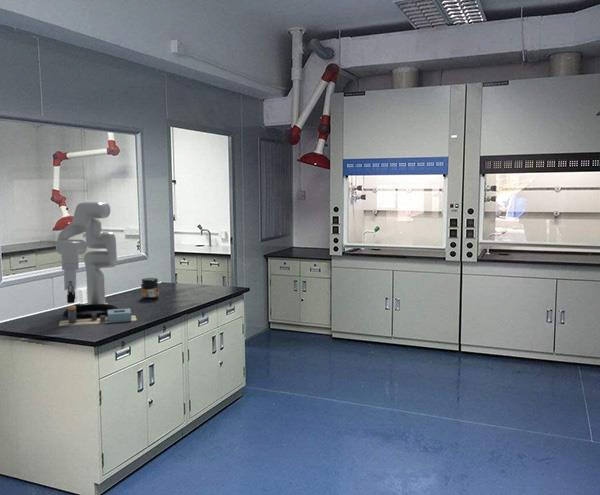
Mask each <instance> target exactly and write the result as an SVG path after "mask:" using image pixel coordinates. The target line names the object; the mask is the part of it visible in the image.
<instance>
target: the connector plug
mask: <svg viewBox="0 0 600 495" xmlns="http://www.w3.org/2000/svg"><path fill="white" fill-rule="evenodd" d="M67 309H68V317H67V318H68V320H69V323H76V322H77V320H78V319H77V318H76V314H77V313H76V306H73V305H69V306H67Z"/></svg>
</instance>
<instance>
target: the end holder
mask: <svg viewBox="0 0 600 495" xmlns="http://www.w3.org/2000/svg"><path fill="white" fill-rule="evenodd" d="M131 316H132V310H131V308H118V309H114V310H108V316H107V317H108V322H112V323H121V321H125V322H133V321H132V320H131Z"/></svg>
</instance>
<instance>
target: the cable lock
mask: <svg viewBox="0 0 600 495" xmlns="http://www.w3.org/2000/svg"><path fill="white" fill-rule="evenodd" d="M72 306H76V319H92V314H94V313H95V312H93V313H82V312H89V311H100V312H96V313H97V318H100V316H102V315H105V317H108V310H114V309H119V308H118V307H117V306H116V305H113V304H112V305H111V304H109V303H108V304H88V305H85V304H73V305H72ZM101 311H102V312H101ZM80 312H81V313H80ZM63 316H64V318H68V308H67V309H64V311H63Z"/></svg>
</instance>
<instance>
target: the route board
mask: <svg viewBox="0 0 600 495" xmlns="http://www.w3.org/2000/svg"><path fill="white" fill-rule="evenodd" d="M93 313H94V314H93ZM93 313H91V314H92V318H84V319H79V318H77V319H76V320H77V322H76V323H69V319H67V320H66V319H65V320H60V321H59V325H58V327H69V326H71V327H72V326H81V325H82V326H83V325H97V324H109V323H113V322H108V316H105V315H102V316H100V317H98V318H97V313H98V312H93ZM131 320H132V321H131V322H137V317H136V315H131ZM121 322H123V323H124V322H126V321H121ZM121 322H120V323H121Z"/></svg>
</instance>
